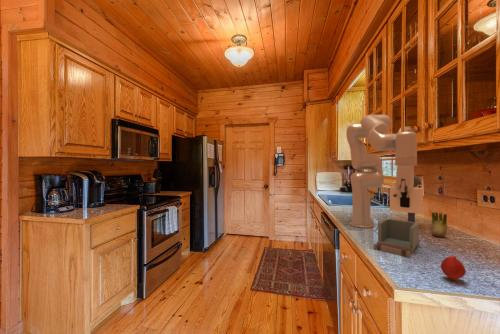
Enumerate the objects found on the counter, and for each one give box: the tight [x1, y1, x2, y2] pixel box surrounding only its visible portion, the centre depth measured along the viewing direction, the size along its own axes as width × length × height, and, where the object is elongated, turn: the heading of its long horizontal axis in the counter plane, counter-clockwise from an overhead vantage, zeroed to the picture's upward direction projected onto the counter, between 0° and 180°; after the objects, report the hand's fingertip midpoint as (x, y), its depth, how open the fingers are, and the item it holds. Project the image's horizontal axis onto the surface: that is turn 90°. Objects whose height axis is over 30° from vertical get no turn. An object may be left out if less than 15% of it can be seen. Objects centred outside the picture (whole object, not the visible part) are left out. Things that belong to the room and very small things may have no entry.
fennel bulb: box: [430, 211, 448, 238], centre depth 115 cm, size 6×5×12 cm
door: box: [389, 185, 424, 215], centre depth 96 cm, size 4×11×10 cm, turn 46°
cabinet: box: [373, 217, 420, 258], centre depth 101 cm, size 18×13×10 cm
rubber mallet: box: [407, 174, 421, 223], centre depth 131 cm, size 12×8×30 cm, turn 139°
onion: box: [440, 254, 467, 281], centre depth 73 cm, size 6×6×8 cm
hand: (405, 206), depth 96 cm, fingers closed on door, 3 cm apart
